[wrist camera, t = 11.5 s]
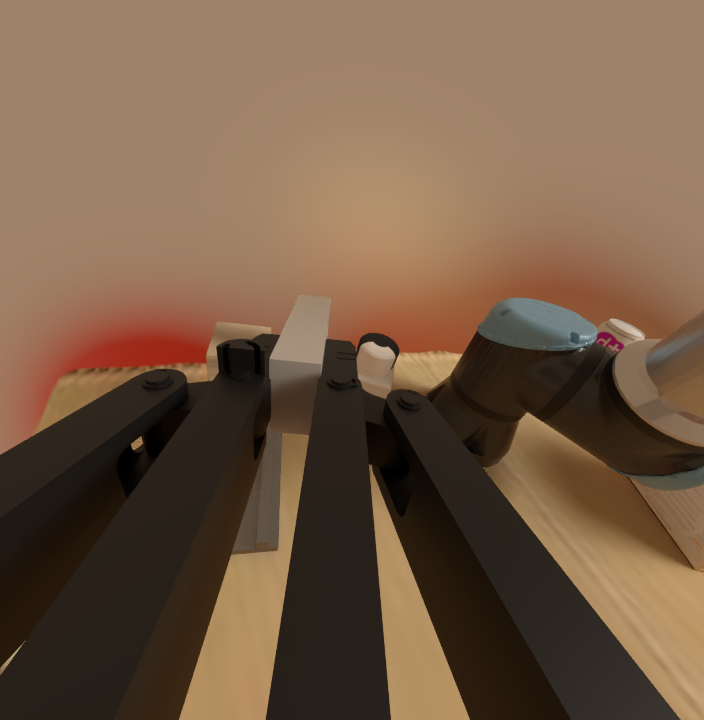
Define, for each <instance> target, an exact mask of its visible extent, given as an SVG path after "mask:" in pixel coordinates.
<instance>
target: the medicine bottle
mask: <svg viewBox="0 0 704 720" xmlns="http://www.w3.org/2000/svg"><path fill="white" fill-rule="evenodd" d="M398 355H399V348H398V345H397V344H396V343H395V341H394V340H392V339H391V338H389V337H388V336H385V335H383V334H379V333H368V334H366V335H364V336H362V337H361V339H360V341H359V344H358V348H357V349H356V357H357V371H358V379H359V380H360V381H361V384H362V388H363V389H364V390H365V391H367V392H369V393H370V394H373V395H375V396H378V397H382V398H385V399H386V397H387V395H388V393H390V392H391V389H392V381H393V373H394V364H395V362H396V359H397V357H398Z"/></svg>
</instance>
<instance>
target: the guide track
mask: <svg viewBox="0 0 704 720" xmlns="http://www.w3.org/2000/svg"><path fill="white" fill-rule="evenodd" d="M266 437H267V438H266V446H265V449H264V452H263V455H262V459H261V462H260V465H259V468H258V471H257V474H256V477H255V481H254V484H253V487H252V490H251V493H250V496H249V500H248V503H247V506H246V509H245V512H244V515H243V519H242V522H241V525H240V528H239V531H238V534H237V538H236V541H235V544H234V547H233V550H232V553H231V555H232V554H243V553H255V552H267V551H277V550H278V539H279V506H280V472H281V439H282V433H281V432H270V421H269V424H268V427H267V430H266Z"/></svg>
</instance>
